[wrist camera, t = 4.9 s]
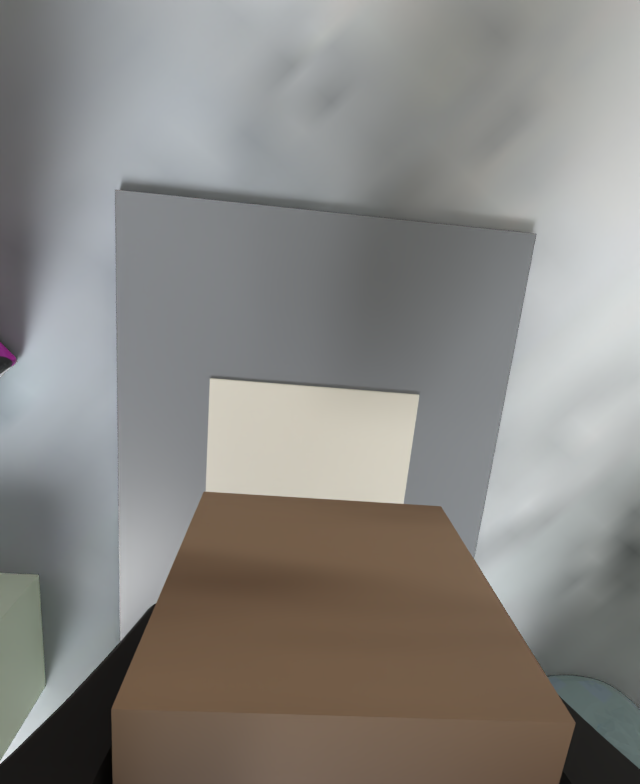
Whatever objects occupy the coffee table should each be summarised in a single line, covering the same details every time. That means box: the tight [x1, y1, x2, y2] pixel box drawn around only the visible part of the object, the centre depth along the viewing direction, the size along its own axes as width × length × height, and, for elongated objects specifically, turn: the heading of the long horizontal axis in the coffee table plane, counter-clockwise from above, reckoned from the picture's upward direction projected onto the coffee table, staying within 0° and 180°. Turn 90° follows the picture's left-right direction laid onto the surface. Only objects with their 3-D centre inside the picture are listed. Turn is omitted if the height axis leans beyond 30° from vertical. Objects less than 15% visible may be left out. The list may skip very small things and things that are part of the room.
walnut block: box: [111, 492, 576, 784], centre depth 8 cm, size 5×5×5 cm
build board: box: [115, 190, 536, 642], centre depth 17 cm, size 18×13×1 cm
